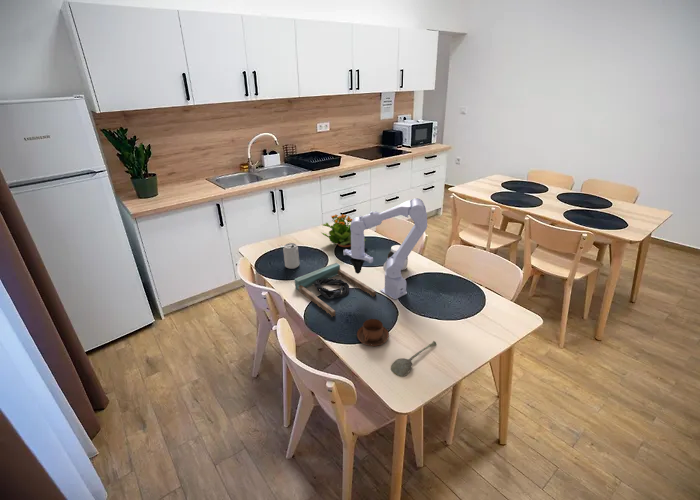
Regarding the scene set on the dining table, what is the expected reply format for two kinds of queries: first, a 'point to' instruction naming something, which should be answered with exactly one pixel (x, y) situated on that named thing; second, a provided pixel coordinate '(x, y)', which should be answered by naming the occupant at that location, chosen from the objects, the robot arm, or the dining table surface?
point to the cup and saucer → (372, 333)
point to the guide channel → (327, 272)
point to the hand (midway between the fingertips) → (358, 272)
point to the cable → (328, 293)
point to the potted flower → (340, 231)
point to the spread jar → (393, 250)
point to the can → (291, 255)
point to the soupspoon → (406, 363)
